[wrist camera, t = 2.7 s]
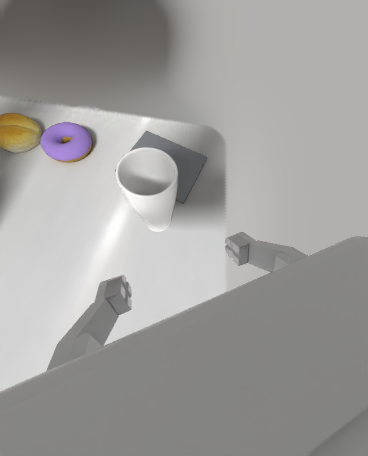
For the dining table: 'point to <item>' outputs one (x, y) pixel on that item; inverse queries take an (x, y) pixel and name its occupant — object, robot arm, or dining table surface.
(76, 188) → the dining table surface
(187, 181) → the rubber mat
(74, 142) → the donut
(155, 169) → the drinking glass
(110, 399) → the robot arm
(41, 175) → the dining table surface
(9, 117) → the bread roll
